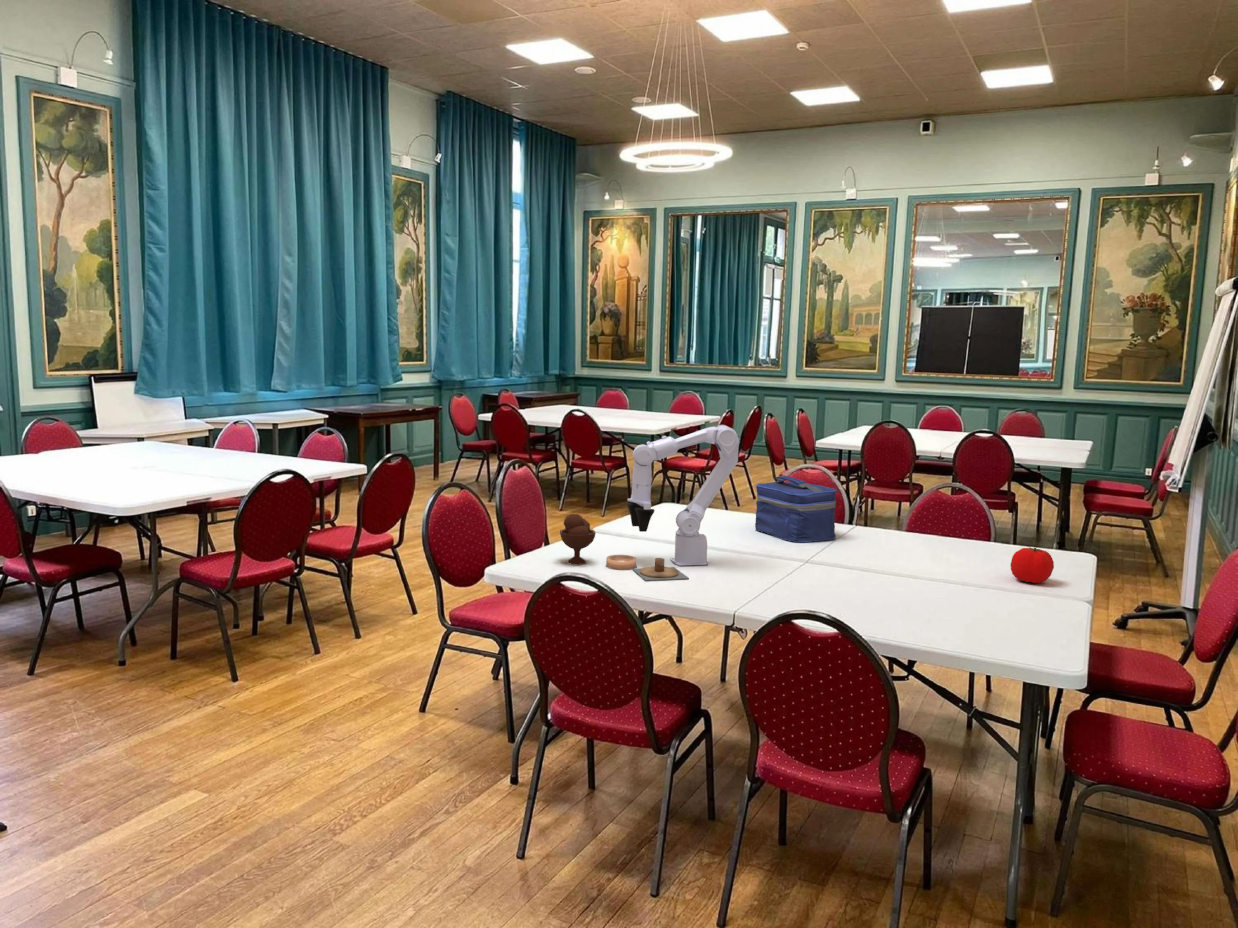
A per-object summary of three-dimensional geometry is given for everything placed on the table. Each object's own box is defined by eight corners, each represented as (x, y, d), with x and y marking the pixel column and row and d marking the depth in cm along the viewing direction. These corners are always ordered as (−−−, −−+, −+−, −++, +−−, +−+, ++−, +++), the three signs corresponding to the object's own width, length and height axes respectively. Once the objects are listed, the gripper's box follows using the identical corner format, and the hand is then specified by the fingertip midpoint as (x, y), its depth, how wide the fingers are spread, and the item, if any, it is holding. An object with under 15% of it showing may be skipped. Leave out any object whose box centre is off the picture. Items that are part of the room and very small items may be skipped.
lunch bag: (743, 527, 337) (745, 472, 334) (788, 523, 347) (791, 470, 344) (797, 545, 310) (800, 485, 307) (844, 540, 320) (847, 482, 317)
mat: (674, 568, 272) (674, 567, 272) (689, 579, 260) (689, 578, 260) (632, 570, 269) (632, 568, 269) (645, 581, 256) (645, 579, 256)
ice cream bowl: (590, 567, 270) (592, 517, 268) (554, 564, 272) (555, 515, 270) (598, 559, 280) (599, 511, 278) (563, 556, 282) (564, 509, 281)
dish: (631, 562, 278) (631, 554, 278) (639, 569, 270) (640, 561, 269) (602, 563, 276) (603, 555, 276) (610, 570, 267) (610, 562, 267)
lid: (673, 568, 270) (674, 554, 270) (681, 578, 259) (682, 563, 259) (637, 568, 269) (637, 554, 268) (643, 578, 258) (644, 563, 257)
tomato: (1025, 587, 262) (1028, 552, 260) (1001, 577, 273) (1003, 543, 272) (1061, 586, 264) (1065, 551, 263) (1036, 576, 275) (1039, 542, 274)
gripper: (622, 480, 281) (620, 523, 283) (635, 488, 267) (633, 533, 269) (644, 480, 283) (641, 523, 285) (658, 488, 269) (656, 533, 271)
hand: (639, 528), depth 277 cm, fingers open, 7 cm apart
